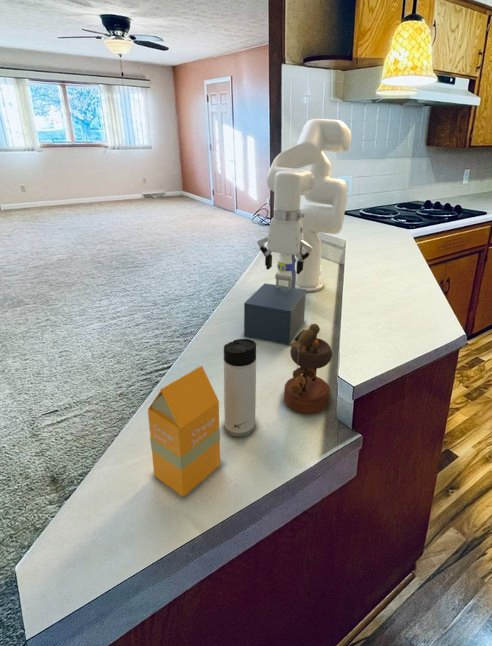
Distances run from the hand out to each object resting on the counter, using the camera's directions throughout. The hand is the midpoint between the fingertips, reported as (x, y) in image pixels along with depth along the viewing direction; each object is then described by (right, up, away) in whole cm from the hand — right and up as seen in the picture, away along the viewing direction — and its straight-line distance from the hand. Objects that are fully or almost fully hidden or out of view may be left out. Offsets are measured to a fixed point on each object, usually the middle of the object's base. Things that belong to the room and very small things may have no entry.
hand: (283, 270), depth 126 cm
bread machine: (-3, -18, +1) cm, 18 cm away
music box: (+7, -31, -30) cm, 44 cm away
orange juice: (-15, -39, -52) cm, 66 cm away
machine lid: (-2, -9, -3) cm, 9 cm away
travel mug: (-7, -35, -41) cm, 54 cm away
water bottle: (-1, -8, +27) cm, 28 cm away
